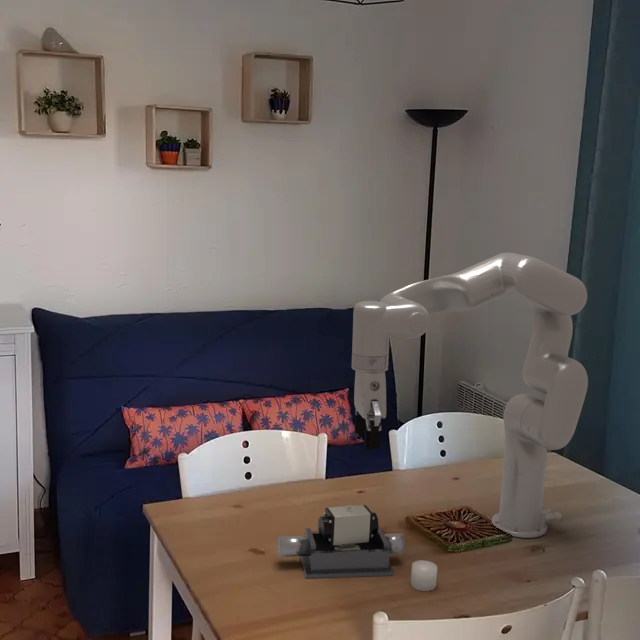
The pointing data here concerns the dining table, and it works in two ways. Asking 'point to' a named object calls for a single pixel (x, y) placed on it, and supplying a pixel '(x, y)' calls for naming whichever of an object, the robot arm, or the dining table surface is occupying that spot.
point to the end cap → (423, 575)
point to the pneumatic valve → (348, 526)
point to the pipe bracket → (342, 555)
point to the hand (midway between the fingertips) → (367, 440)
